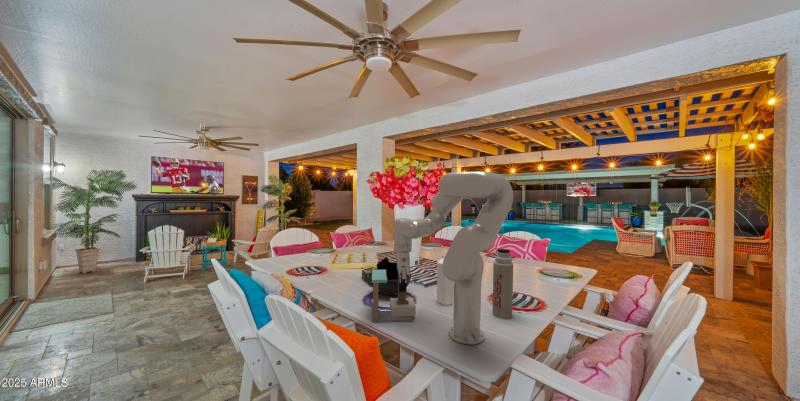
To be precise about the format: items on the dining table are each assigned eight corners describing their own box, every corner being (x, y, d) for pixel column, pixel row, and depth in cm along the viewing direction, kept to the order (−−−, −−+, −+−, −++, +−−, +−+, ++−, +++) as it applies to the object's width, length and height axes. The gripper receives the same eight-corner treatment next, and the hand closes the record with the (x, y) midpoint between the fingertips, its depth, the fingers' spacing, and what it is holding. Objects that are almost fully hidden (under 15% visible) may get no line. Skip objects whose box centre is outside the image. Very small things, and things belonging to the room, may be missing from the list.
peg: (406, 300, 124) (407, 272, 123) (398, 301, 124) (398, 273, 123) (405, 297, 128) (406, 270, 127) (397, 297, 127) (397, 270, 127)
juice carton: (360, 277, 177) (360, 267, 176) (375, 276, 181) (375, 266, 181) (371, 288, 159) (371, 277, 158) (388, 286, 163) (388, 275, 163)
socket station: (416, 321, 118) (416, 279, 117) (371, 322, 117) (371, 280, 116) (411, 305, 134) (412, 268, 133) (372, 306, 133) (372, 269, 132)
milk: (445, 306, 134) (446, 258, 133) (436, 301, 139) (436, 255, 138) (454, 302, 138) (455, 256, 137) (445, 299, 143) (446, 254, 142)
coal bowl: (363, 296, 145) (364, 259, 144) (383, 285, 163) (383, 251, 162) (400, 304, 136) (400, 263, 135) (416, 290, 154) (417, 255, 153)
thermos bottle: (501, 319, 120) (502, 252, 119) (488, 312, 127) (489, 248, 126) (516, 317, 123) (517, 250, 122) (503, 309, 130) (504, 247, 129)
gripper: (414, 251, 117) (413, 297, 117) (409, 243, 133) (408, 283, 134) (395, 251, 116) (394, 297, 117) (392, 243, 133) (392, 283, 133)
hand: (402, 289), depth 125 cm, fingers closed on peg, 3 cm apart
